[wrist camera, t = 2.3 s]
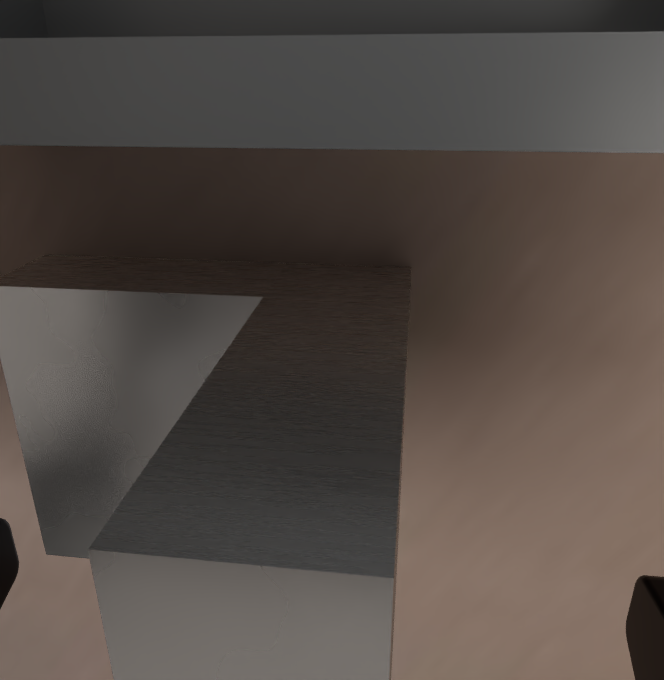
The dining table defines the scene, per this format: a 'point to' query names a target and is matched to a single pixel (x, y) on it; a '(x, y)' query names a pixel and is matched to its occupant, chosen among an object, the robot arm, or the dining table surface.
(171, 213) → the dining table surface
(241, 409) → the bracket
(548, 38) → the bin
